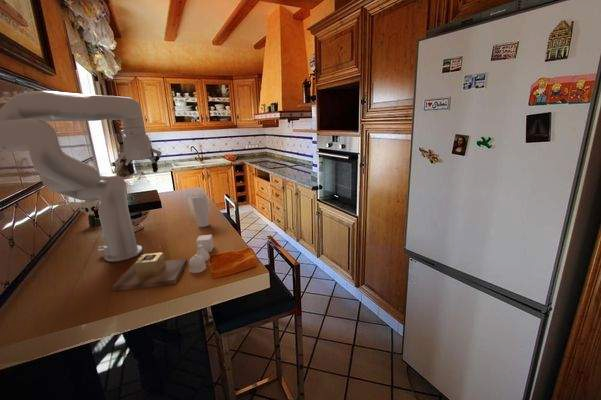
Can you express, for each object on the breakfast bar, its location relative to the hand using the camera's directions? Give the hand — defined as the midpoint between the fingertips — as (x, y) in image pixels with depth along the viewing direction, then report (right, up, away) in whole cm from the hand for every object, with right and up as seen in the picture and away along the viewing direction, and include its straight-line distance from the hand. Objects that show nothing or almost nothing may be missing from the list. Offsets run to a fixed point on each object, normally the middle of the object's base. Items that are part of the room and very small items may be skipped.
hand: (143, 172), depth 122 cm
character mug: (-39, -25, +26) cm, 53 cm away
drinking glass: (+21, -24, +15) cm, 35 cm away
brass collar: (+19, -35, -30) cm, 50 cm away
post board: (+19, -36, -29) cm, 51 cm away
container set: (+32, -33, -19) cm, 50 cm away
